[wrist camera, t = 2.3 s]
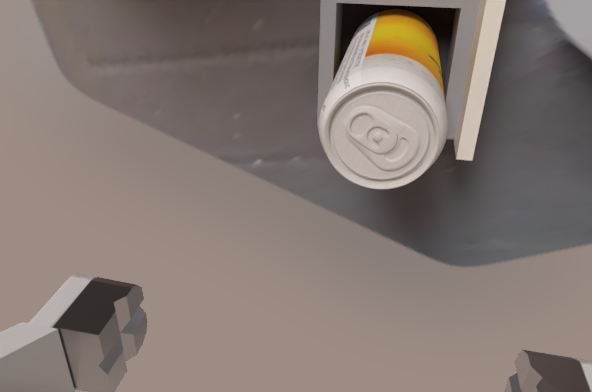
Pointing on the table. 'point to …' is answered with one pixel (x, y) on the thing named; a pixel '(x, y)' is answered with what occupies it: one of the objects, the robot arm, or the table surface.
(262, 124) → the table surface
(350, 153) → the beer can
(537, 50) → the table surface
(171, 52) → the table surface
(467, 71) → the holder board
